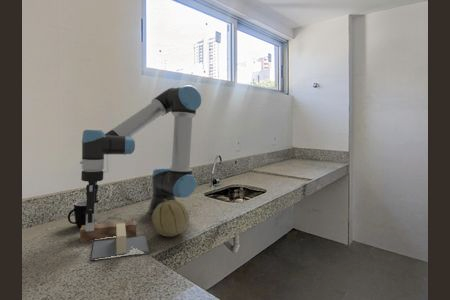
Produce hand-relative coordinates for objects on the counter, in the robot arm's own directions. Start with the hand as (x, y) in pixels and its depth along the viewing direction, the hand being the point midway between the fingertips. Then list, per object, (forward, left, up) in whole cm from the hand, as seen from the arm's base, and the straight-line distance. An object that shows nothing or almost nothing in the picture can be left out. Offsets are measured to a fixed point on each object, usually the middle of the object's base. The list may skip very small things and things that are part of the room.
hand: (91, 224), depth 102 cm
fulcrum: (-10, +13, -5) cm, 17 cm away
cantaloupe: (-29, +6, -6) cm, 30 cm away
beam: (-6, 0, -6) cm, 9 cm away
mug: (+5, -15, -6) cm, 17 cm away
